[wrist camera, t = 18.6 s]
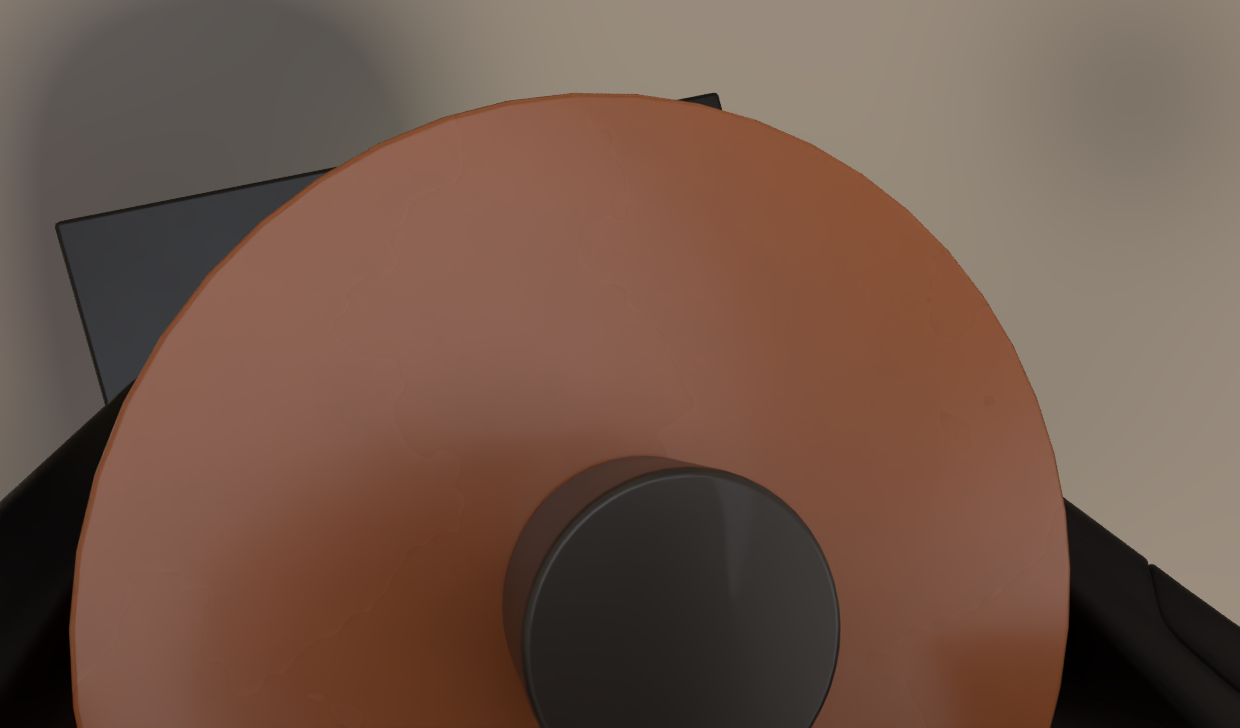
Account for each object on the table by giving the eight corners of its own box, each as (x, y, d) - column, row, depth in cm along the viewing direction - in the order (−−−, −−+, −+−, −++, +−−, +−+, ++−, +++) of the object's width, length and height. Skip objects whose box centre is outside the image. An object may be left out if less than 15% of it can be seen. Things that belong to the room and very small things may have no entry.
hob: (929, 1058, 18) (998, 1146, 16) (405, 1334, 15) (404, 1485, 13) (684, 124, 17) (722, 86, 15) (99, 244, 15) (47, 219, 13)
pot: (707, 675, 14) (1228, 1162, 5) (277, 713, 13) (-76, 1519, 4) (703, 275, 15) (1189, 63, 5) (282, 262, 13) (-33, -70, 4)
